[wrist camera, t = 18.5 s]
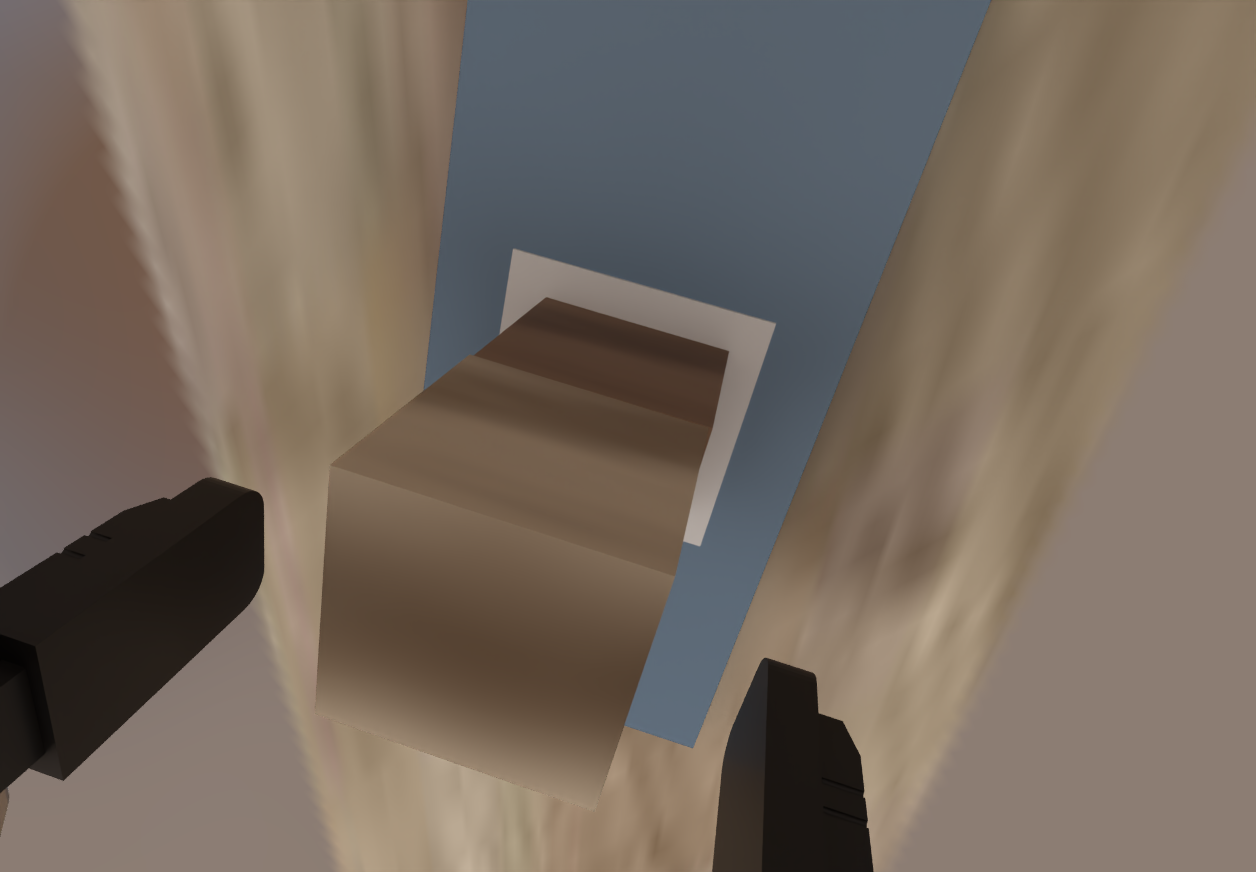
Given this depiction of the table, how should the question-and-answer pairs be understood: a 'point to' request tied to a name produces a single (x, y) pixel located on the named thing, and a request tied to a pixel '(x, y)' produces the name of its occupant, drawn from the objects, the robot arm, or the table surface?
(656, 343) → the walnut block
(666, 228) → the board
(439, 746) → the maple block
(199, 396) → the table surface
